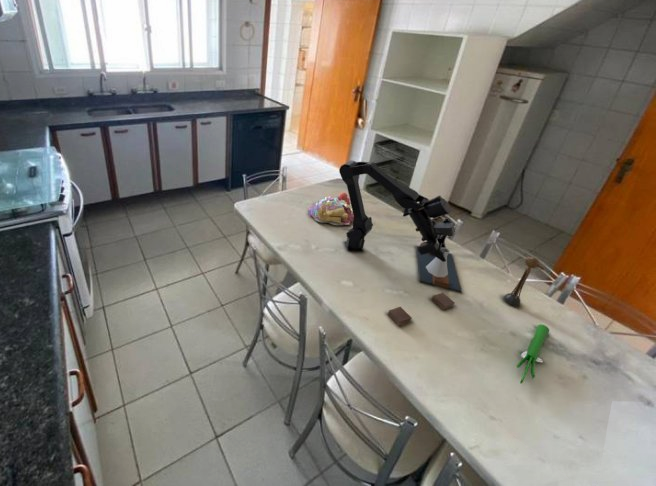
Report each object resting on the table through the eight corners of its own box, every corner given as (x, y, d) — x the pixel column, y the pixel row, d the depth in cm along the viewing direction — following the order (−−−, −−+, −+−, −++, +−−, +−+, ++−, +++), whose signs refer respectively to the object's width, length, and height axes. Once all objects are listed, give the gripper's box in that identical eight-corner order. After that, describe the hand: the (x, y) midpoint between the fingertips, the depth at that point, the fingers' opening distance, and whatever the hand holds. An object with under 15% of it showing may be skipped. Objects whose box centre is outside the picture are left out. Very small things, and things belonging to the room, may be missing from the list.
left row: (387, 314, 111) (389, 310, 110) (441, 296, 120) (442, 292, 119) (398, 326, 107) (400, 321, 106) (453, 306, 115) (454, 302, 115)
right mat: (419, 282, 126) (421, 277, 124) (416, 246, 147) (417, 241, 145) (460, 293, 121) (463, 287, 120) (450, 254, 142) (453, 249, 141)
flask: (451, 276, 121) (460, 254, 117) (435, 279, 119) (444, 257, 115) (436, 263, 127) (445, 242, 123) (421, 266, 125) (429, 245, 121)
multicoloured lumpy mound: (360, 228, 158) (364, 211, 154) (311, 225, 158) (314, 209, 154) (348, 203, 180) (351, 188, 176) (305, 200, 180) (307, 185, 176)
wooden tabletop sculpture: (525, 306, 117) (550, 262, 108) (518, 310, 115) (543, 266, 106) (507, 295, 122) (529, 251, 113) (500, 299, 120) (523, 255, 111)
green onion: (533, 328, 109) (508, 380, 91) (538, 321, 108) (513, 372, 89) (551, 338, 106) (529, 394, 87) (556, 331, 105) (535, 386, 86)
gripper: (437, 225, 108) (463, 266, 107) (450, 205, 121) (473, 242, 120) (407, 234, 116) (430, 273, 115) (422, 215, 129) (443, 250, 128)
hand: (445, 259), depth 120 cm, fingers closed on flask, 3 cm apart
